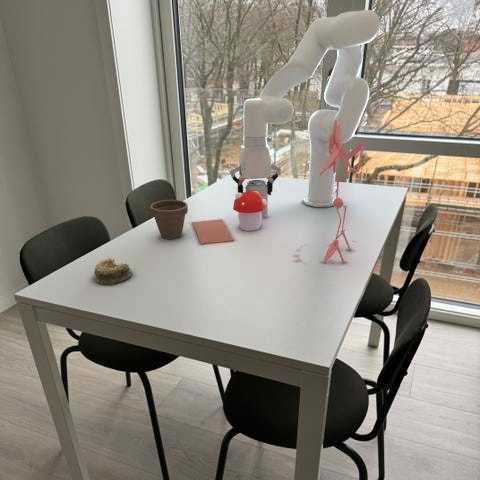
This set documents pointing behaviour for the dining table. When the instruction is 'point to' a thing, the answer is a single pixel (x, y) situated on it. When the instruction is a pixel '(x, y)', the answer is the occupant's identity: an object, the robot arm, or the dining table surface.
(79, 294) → the dining table surface
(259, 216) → the mushroom
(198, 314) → the dining table surface
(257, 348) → the dining table surface
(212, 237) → the napkin
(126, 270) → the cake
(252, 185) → the can
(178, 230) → the flower pot
